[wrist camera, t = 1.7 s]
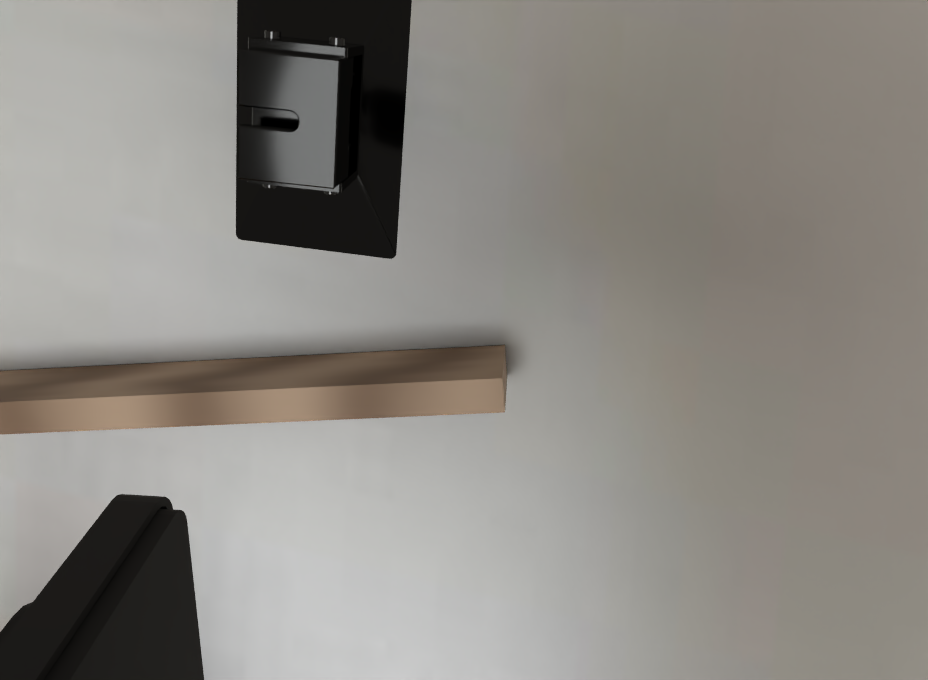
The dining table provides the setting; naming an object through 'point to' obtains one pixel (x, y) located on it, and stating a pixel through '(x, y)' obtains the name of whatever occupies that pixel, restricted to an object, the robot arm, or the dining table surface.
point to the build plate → (321, 122)
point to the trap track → (255, 390)
